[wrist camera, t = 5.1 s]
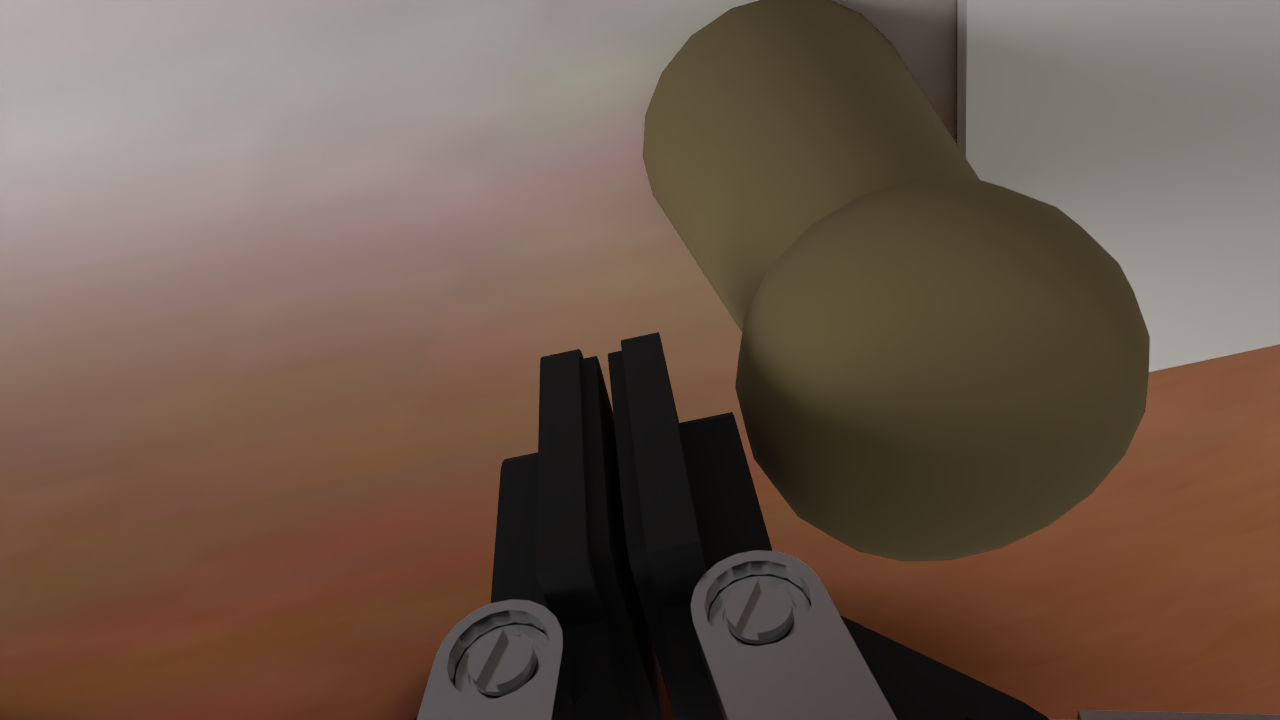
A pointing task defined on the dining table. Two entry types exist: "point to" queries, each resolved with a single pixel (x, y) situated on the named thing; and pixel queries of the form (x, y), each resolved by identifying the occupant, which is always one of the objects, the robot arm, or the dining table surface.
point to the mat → (1142, 148)
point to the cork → (889, 292)
